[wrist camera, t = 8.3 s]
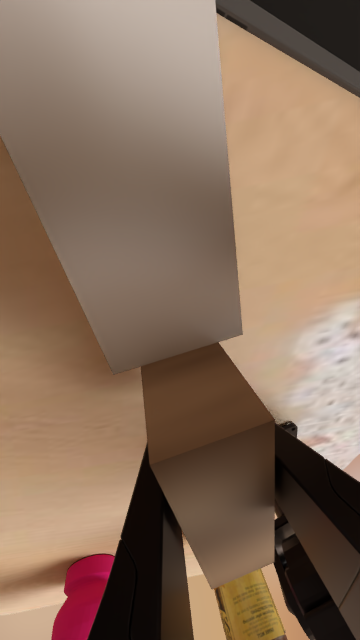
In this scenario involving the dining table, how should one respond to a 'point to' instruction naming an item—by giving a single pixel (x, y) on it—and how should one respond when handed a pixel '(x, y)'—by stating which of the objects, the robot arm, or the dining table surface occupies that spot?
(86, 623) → the pepper mill
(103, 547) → the dining table surface
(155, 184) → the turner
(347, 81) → the cell phone
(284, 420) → the dining table surface
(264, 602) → the sauce bottle
